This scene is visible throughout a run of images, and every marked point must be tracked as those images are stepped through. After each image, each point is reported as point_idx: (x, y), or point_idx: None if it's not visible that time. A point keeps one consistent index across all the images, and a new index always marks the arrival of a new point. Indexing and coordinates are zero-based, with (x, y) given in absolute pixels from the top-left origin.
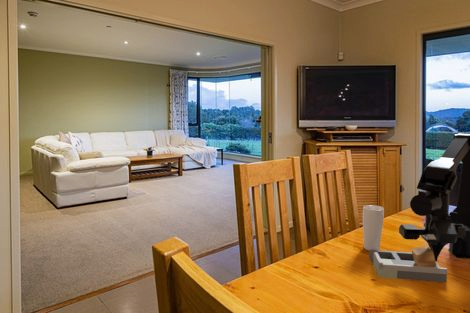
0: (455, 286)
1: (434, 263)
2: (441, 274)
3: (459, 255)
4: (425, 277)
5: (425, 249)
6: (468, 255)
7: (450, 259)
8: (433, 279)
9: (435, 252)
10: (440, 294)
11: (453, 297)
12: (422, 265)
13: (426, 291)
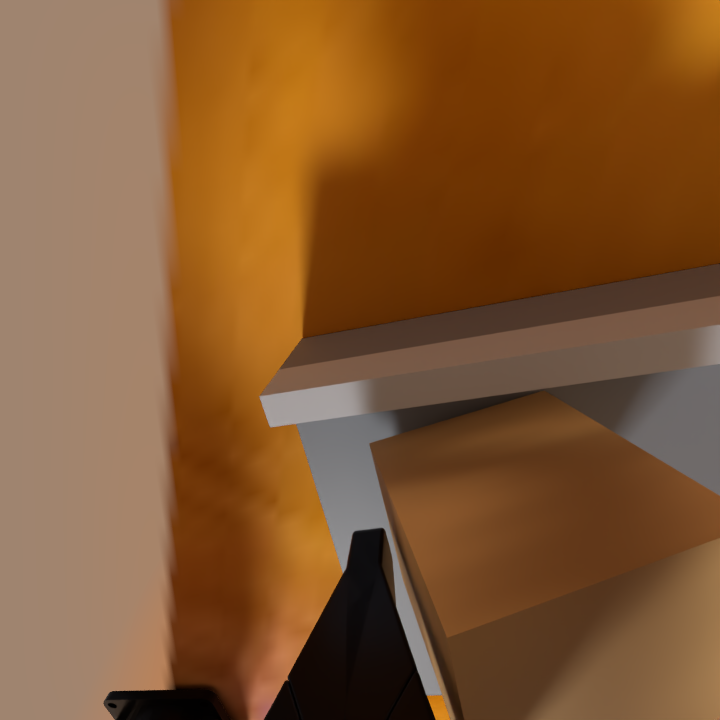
0: (237, 293)
1: (396, 464)
2: (332, 357)
3: (192, 711)
4: (485, 314)
5: (543, 717)
6: (142, 715)
7: (245, 668)
8: (406, 325)
9: (378, 651)
10: (387, 36)
11: (269, 21)
12: (539, 421)
13: (524, 47)
